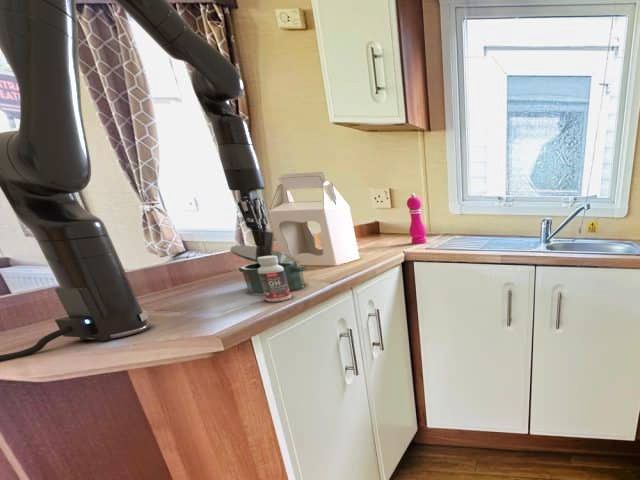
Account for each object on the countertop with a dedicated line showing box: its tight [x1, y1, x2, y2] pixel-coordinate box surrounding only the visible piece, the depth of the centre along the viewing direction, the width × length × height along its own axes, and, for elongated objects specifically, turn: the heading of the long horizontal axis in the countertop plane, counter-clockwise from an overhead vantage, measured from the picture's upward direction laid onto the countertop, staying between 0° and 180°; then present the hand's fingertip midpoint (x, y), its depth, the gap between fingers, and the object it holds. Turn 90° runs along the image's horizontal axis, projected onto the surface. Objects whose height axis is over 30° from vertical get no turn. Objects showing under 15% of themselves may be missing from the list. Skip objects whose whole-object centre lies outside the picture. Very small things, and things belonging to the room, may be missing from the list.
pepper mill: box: [406, 192, 427, 245], centre depth 181 cm, size 7×7×20 cm
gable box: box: [268, 171, 360, 267], centre depth 142 cm, size 22×13×28 cm, turn 73°
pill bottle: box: [257, 256, 292, 303], centre depth 97 cm, size 5×5×10 cm
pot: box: [238, 260, 307, 294], centre depth 109 cm, size 13×19×6 cm
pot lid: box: [229, 228, 295, 265], centre depth 105 cm, size 14×14×7 cm
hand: (263, 244), depth 105 cm, fingers closed on pot lid, 3 cm apart
